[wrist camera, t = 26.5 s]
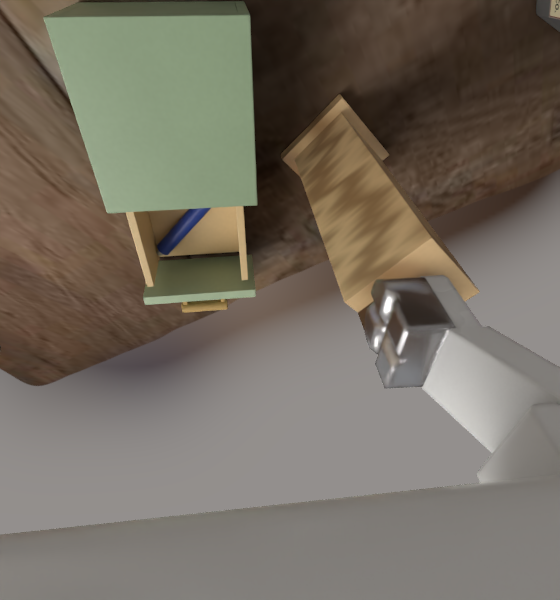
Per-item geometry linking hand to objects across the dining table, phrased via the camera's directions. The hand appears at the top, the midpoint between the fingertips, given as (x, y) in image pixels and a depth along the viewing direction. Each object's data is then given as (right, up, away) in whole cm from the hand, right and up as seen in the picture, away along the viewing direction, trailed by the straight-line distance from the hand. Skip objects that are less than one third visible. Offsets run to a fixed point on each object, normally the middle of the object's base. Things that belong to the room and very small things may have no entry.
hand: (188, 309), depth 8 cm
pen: (-9, +10, +40) cm, 42 cm away
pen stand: (+8, +18, +38) cm, 43 cm away
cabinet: (-9, +21, +32) cm, 40 cm away
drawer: (-9, +9, +42) cm, 44 cm away
